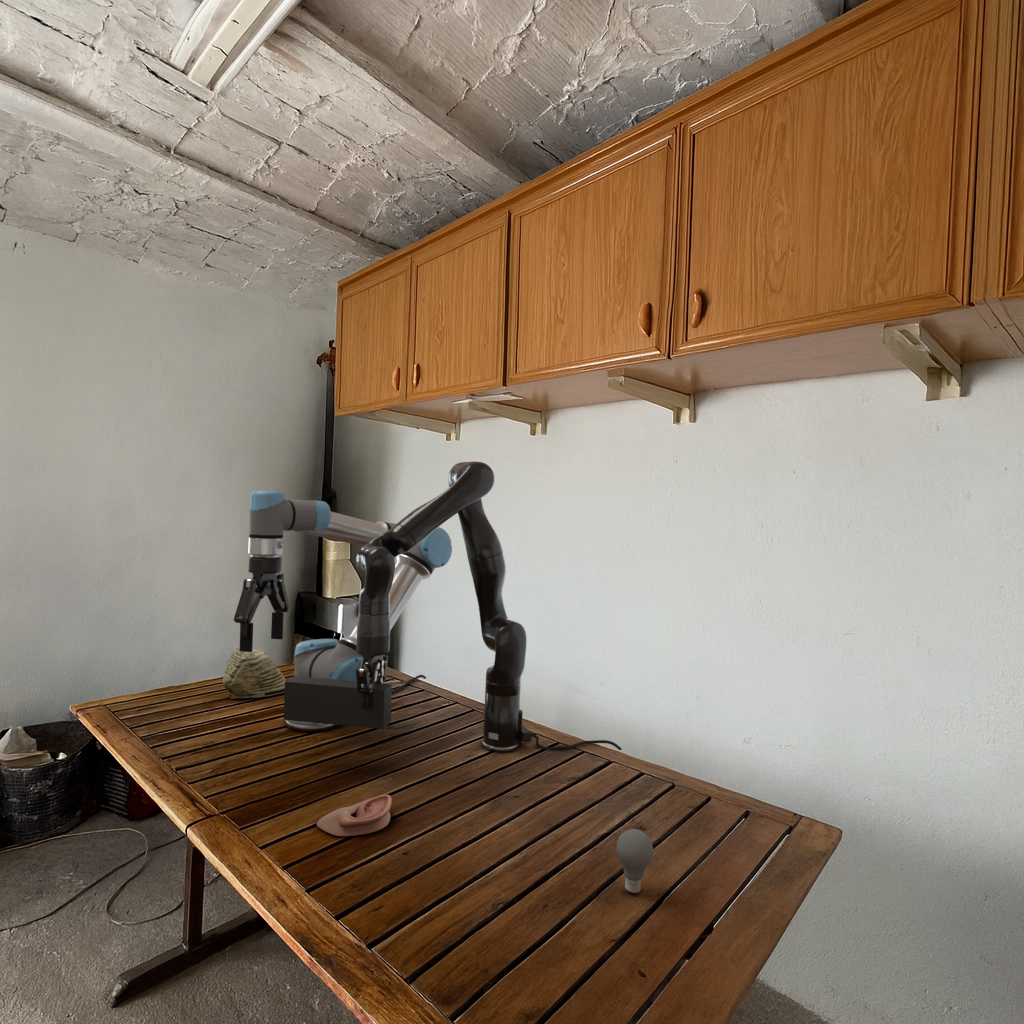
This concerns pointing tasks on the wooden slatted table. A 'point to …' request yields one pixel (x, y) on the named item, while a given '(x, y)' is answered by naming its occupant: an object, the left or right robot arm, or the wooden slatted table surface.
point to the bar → (335, 702)
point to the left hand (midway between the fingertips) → (262, 645)
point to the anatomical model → (358, 817)
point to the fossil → (252, 675)
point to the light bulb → (634, 857)
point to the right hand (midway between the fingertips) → (371, 705)
